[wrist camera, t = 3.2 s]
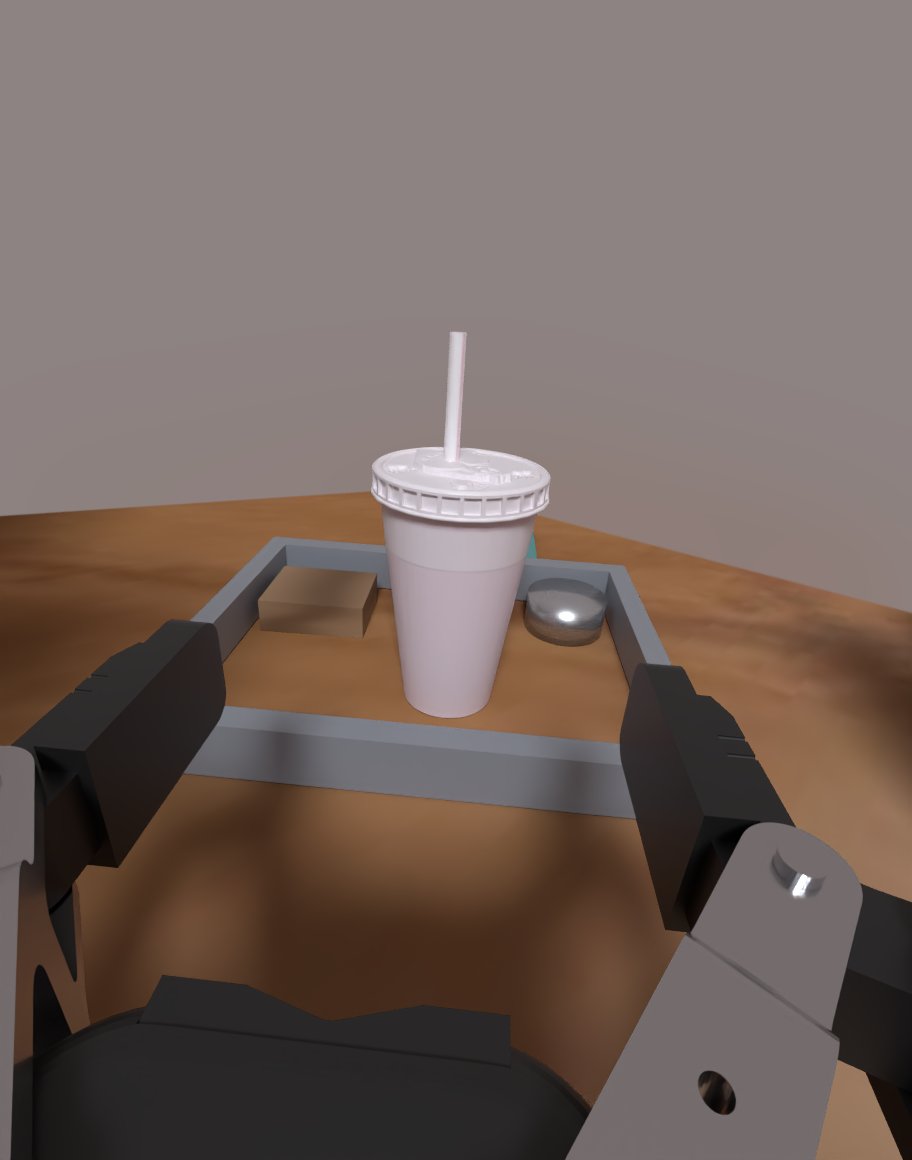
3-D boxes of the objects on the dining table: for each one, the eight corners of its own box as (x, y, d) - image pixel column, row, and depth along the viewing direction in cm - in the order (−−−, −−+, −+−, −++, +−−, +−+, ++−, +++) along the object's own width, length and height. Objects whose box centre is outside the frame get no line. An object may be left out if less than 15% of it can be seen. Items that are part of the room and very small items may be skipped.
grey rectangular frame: (109, 765, 19) (96, 714, 18) (277, 571, 34) (274, 536, 33) (706, 825, 19) (724, 774, 18) (617, 600, 33) (624, 565, 32)
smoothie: (449, 634, 28) (469, 328, 22) (553, 695, 24) (611, 342, 18) (341, 684, 24) (328, 324, 18) (444, 767, 20) (472, 340, 14)
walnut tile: (261, 636, 28) (257, 600, 27) (287, 598, 32) (284, 565, 31) (362, 644, 28) (362, 608, 27) (376, 605, 31) (377, 573, 31)
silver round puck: (525, 645, 28) (529, 609, 27) (522, 607, 32) (526, 575, 31) (606, 652, 28) (613, 616, 27) (594, 613, 32) (600, 581, 31)
